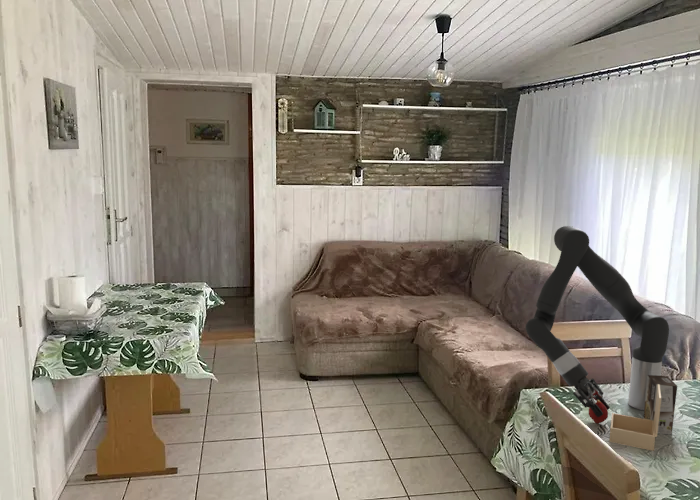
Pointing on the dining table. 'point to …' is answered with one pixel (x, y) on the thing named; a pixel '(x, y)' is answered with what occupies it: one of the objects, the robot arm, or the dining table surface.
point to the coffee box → (667, 402)
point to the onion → (601, 418)
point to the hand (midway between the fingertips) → (604, 412)
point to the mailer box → (636, 428)
